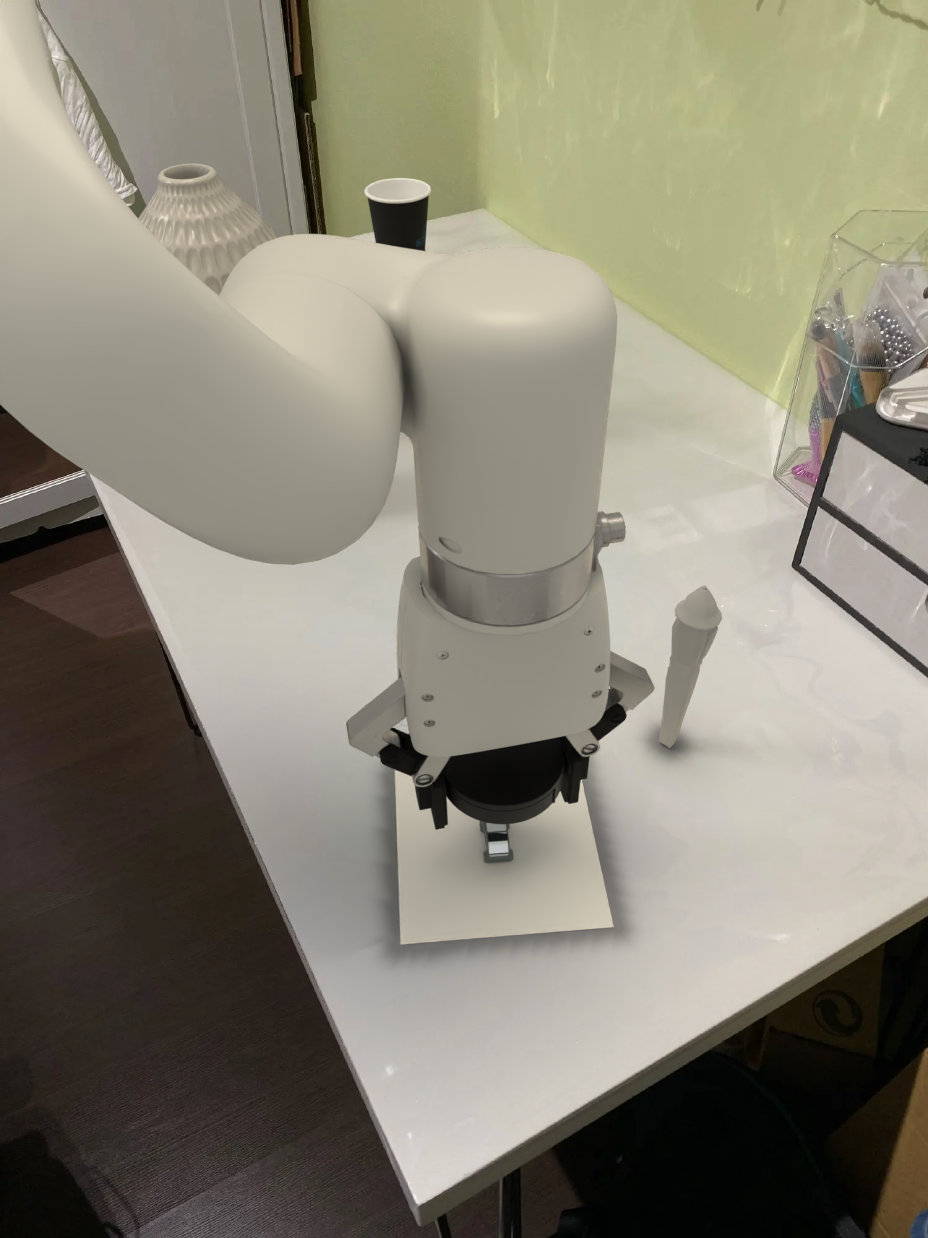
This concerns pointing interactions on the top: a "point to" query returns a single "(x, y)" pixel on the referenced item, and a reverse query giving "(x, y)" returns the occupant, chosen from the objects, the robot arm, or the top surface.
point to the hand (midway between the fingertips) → (500, 794)
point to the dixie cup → (399, 212)
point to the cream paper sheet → (496, 872)
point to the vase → (203, 222)
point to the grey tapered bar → (687, 657)
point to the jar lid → (506, 781)
